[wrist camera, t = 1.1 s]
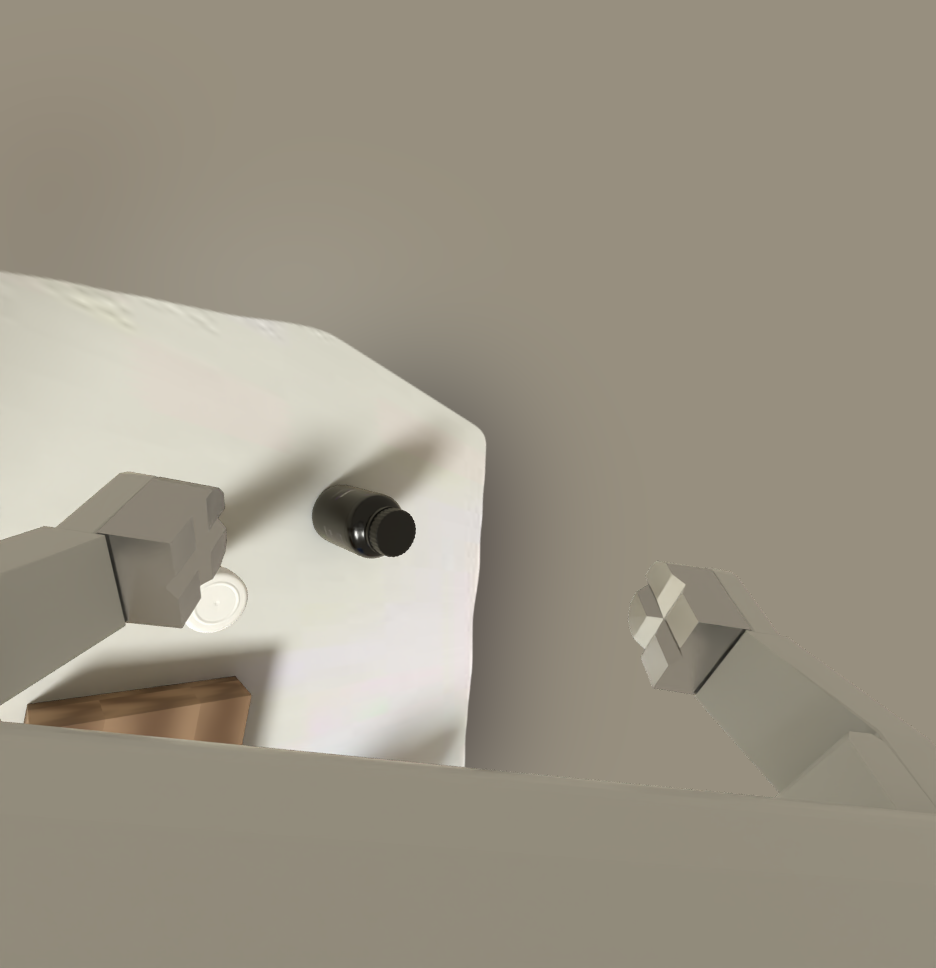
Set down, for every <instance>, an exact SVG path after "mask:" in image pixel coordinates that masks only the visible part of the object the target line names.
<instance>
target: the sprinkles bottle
mask: <svg viewBox="0 0 936 968" xmlns="http://www.w3.org/2000/svg"><path fill="white" fill-rule="evenodd" d="M200 591H201V599H200V601H199V602H198V604H197V605H196V607H195V609H194V610H193V612H192V613H191V615H190V617H189V618H188V620H187V621H186V623H185V624H186V625H187V626H188V627H189V628H191V629H193V630H195V631H198V632H203V633H211V632H217V631H220V630H223V629H225V628H227V627H229V626H230V625H232V624H233V623H234V622H235V621H236V620H237V619H238V618H239V617H240V616H241V614H242V613H243V611H244V609H245V607H246V604H247V599H248V594H247V588H246V586H245V584H244V582H243V581H242V580H241V579H240V578H239V577H238V576H237V575H236V574H235V573H233V572H232V571H230V570H229V569H227V568H224V567H221V566H220V568H219V569H218V571H217V573H216V575H215V576H214V578H213V579H212V580H210V581H208V582H206V583H204V584H203V585H201V586H200Z"/></svg>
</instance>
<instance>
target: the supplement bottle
mask: <svg viewBox="0 0 936 968" xmlns="http://www.w3.org/2000/svg"><path fill="white" fill-rule="evenodd" d="M312 521H313V525H314V528H315V530H316V531H317V533H318V534H319V535H320V536H321V537H322V538H323V539H325V540H327V541H329V542H331V543H333V544H335V545H337V546H339V547H342V548H344V549H346V550H348V551H350V552H353V553H355V554H357V555H359V556H362V557H365V558H379V557H382V556H384V555H385V556H388V557H395V556H399V555H402V554H403V553H405V552H406V551H407V550H408V549H409V547H411V545H412V543H413V540H414V538H415V534H416V532H415V531H416V528H415V523H414V520H413V518H412V516H410V514H409V513H407V512H406V511H403V510H401V508H400V506H399V505H398V503H397V502H396V501H395V500H394V499H392V498H391V497H389V496H387V495H384V494H380V493H376V492H372V491H369V490H365V489H361V488H357V487H353V486H349V485H336V486H333V487H330V488H328V489H327V490H325V491H324V492H323V493H322V494H321V495H320V496H319V497H318V499H317V500H316V502H315V504H314V507H313V512H312Z"/></svg>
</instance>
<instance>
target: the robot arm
mask: <svg viewBox="0 0 936 968" xmlns="http://www.w3.org/2000/svg"><path fill="white" fill-rule="evenodd" d="M224 509H225V503H224V494H223V492H222V491H221V490H220V488H217V487H212V486H207V485H201V484H196V483H191V482H185V481H180V480H174V479H169V478H164V477H156V476H152V475H146V474H140V473H134V472H124V473H120V474H118V475H117V476H116V477H115V478H113V479H112V480H111V481H110V482H109V483H107V484H106V485H105V486H104V487H103V488H102V489H100V490H99V491H98V492H97V493H96V494H95V495H93V496H92V497H91V498H90V499H89V500H87V501H86V502H85V503H84V504H83V505H82V506H80V507H79V508H78V509H77V510H76V511H75V512H73V513H72V514H71V515H70V516H69V517H67V518H66V519H65V520H64V521H63V522H62V523H60V524H59V525H58V526H57V527H56V528H54V527H47V526H43V527H40V528H37V529H34V530H31V531H28V532H25V533H22V534H19V535H16V536H12V537H9V538H6V539H3V540H0V705H2V704H3V703H5V702H6V701H8V700H9V699H11V698H13V697H14V696H16V695H17V694H19V693H20V692H22V691H24V690H25V689H27V688H28V687H30V686H31V685H33V684H35V683H36V682H38V681H39V680H41V679H42V678H44V677H46V676H47V675H49V674H50V673H52V672H53V671H55V670H57V669H58V668H60V667H61V666H63V665H64V664H66V663H68V662H69V661H71V660H72V659H74V658H75V657H77V656H79V655H80V654H82V653H83V652H85V651H86V650H88V649H90V648H91V647H93V646H94V645H96V644H97V643H99V642H100V641H102V640H104V639H105V638H107V637H108V636H110V635H111V634H113V633H115V632H116V631H118V630H119V629H121V628H122V627H124V626H125V625H126V624H125V623H135V624H145V625H155V626H165V627H175V628H183V626H184V625H185V623H186V621H187V620H188V618H189V617H190V615H191V613H192V612H193V610H194V609H195V607H196V605H197V604H198V602H199V601H200V599H201V591H200V586H201V585H203V584H204V583H206V582H208V581H210V580H212V579H213V578H214V576H215V575H216V573H217V571H218V569H219V568H220V565H221V562H222V559H223V556H224V553H225V549H226V541H227V535H226V527H225V526H224V525H223V524H222V522H221V521H220V520H219V519H218V517H219V516H220V514H221V513H222V512H223V510H224ZM646 579H647V583H648V585H647V586H645V587H643V588H642V589H640V590H638V591H637V592H636V593H635V595H634V597H633V599H632V601H631V603H630V608H629V616H628V618H629V626H630V630H631V633H632V635H633V638H634V639H635V640H636V641H637V642H638V643H639V644H640V645H641V646H642V647H643V648H644V652H643V654H642V656H641V659H642V662H643V664H644V667H645V669H646V672H647V675H648V677H649V680H650V682H651V685H652V687H653V688H654V689H661V690H667V691H674V692H680V693H686V694H693V695H695V698H696V699H697V700H698V702H699V703H700V704H701V705H702V706H703V707H704V708H705V710H706V711H707V712H708V713H709V714H710V715H711V716H712V717H713V718H714V720H715V721H716V722H717V723H718V724H719V725H720V726H721V728H722V729H723V730H724V731H725V732H726V733H727V734H728V736H729V737H730V738H731V739H732V740H733V741H734V742H735V744H736V745H737V746H738V747H739V748H740V749H741V750H742V751H743V753H744V754H745V755H746V756H747V757H748V758H749V759H750V760H751V761H752V763H753V764H754V765H755V766H756V767H757V768H758V769H759V770H760V772H761V773H762V774H763V775H764V776H765V777H766V779H767V780H768V781H769V782H770V783H771V784H772V785H773V787H774V788H775V789H776V790H777V791H778V792H779V794H778V795H776V796H775V797H774V798H773V797H763V796H753V795H743V794H733V793H723V792H712V791H703V790H692V789H682V788H672V787H661V786H651V785H640V784H631V783H620V782H610V781H600V780H589V779H579V778H568V777H559V776H548V775H537V774H528V773H518V772H507V771H497V770H487V769H477V768H467V767H457V766H447V765H437V764H427V763H417V762H407V761H397V760H386V759H376V758H366V757H356V756H346V755H336V754H326V753H316V752H306V751H296V750H286V749H275V748H265V747H255V746H245V745H235V744H225V743H215V742H205V741H194V740H184V739H174V738H164V737H154V736H144V735H134V734H123V733H113V732H103V731H93V730H83V729H73V728H63V727H53V726H42V725H32V724H22V723H12V722H2V721H1V719H0V968H936V746H935V745H934V744H933V742H932V741H931V740H930V739H929V738H927V737H926V736H924V735H923V734H922V733H920V732H919V731H918V730H916V729H915V728H913V727H912V726H911V725H909V724H908V723H907V722H905V721H904V720H902V719H901V718H900V717H898V716H897V715H895V714H894V713H893V712H891V711H890V710H889V709H887V708H886V707H884V706H883V705H882V704H880V703H879V702H877V701H876V700H875V699H873V698H872V697H870V696H869V695H868V694H866V693H865V692H864V691H862V690H861V689H859V688H858V687H857V686H855V685H854V684H852V683H851V682H850V681H848V680H847V679H845V678H844V677H843V676H841V675H840V674H839V673H837V672H836V671H834V670H833V669H832V668H830V667H829V666H828V665H826V664H825V663H823V662H822V661H821V660H819V659H818V658H816V657H815V656H814V655H812V654H811V653H810V652H808V651H807V650H805V649H804V648H803V647H801V646H800V645H798V644H797V643H796V642H794V641H793V640H791V639H790V638H788V637H787V636H781V635H779V633H778V632H777V631H776V629H775V628H774V626H773V625H772V624H771V622H770V621H769V619H768V618H767V617H766V615H765V614H764V613H763V611H762V610H761V608H760V607H759V606H758V604H757V603H756V601H755V600H754V598H753V597H752V596H751V594H750V593H749V591H748V590H747V589H746V587H745V586H744V585H743V583H742V582H741V580H740V579H739V578H738V576H736V575H735V574H734V573H732V572H730V571H727V570H720V569H712V568H699V567H693V566H687V565H680V564H675V563H668V562H661V561H657V562H655V563H654V564H653V565H652V566H651V567H650V569H649V570H648V572H647V574H646Z"/></svg>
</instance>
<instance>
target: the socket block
mask: <svg viewBox="0 0 936 968" xmlns="http://www.w3.org/2000/svg"><path fill="white" fill-rule="evenodd" d="M251 696H252V695H251V694H250V693H249V692H248V690H247V689H246V688H245V687H244V686H243V684H242V683H241V682H240V681H239V680H238V679H237V677H236V676H234V677H226V678H219V679H211V680H204V681H197V682H189V683H182V684H175V685H167V686H160V687H153V688H145V689H138V690H130V691H123V692H116V693H108V694H101V695H94V696H86V697H79V698H71V699H64V700H57V701H49V702H42V703H35V704H27V709H26V714H25V719H24V724H32V725H42V726H53V727H63V728H73V729H83V730H93V731H103V732H113V733H123V734H134V735H144V736H154V737H164V738H174V739H184V740H194V741H205V742H215V743H225V744H235V745H242V742H243V736H244V731H245V726H246V721H247V716H248V711H249V706H250V701H251Z"/></svg>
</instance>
